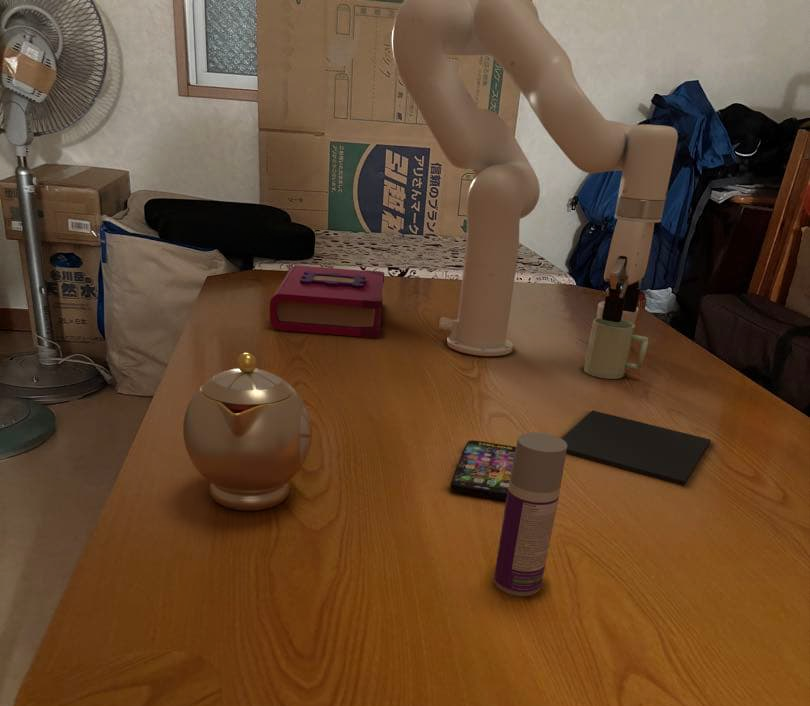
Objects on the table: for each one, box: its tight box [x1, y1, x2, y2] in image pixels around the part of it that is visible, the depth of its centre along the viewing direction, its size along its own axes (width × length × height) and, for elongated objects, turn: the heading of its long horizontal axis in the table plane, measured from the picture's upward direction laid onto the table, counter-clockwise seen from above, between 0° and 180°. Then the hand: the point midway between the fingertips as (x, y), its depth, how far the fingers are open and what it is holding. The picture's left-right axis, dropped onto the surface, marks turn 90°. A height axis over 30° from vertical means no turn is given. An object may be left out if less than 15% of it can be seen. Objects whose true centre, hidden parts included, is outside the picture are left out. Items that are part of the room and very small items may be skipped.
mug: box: [583, 317, 650, 380], centre depth 138 cm, size 10×7×9 cm
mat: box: [561, 410, 712, 486], centre depth 110 cm, size 18×18×1 cm
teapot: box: [182, 352, 313, 512], centre depth 85 cm, size 18×14×16 cm
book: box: [269, 264, 385, 339], centre depth 158 cm, size 21×28×8 cm
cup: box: [596, 300, 640, 325], centre depth 154 cm, size 11×8×8 cm
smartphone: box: [450, 439, 516, 501], centre depth 98 cm, size 8×1×15 cm
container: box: [493, 431, 567, 597], centre depth 72 cm, size 5×5×15 cm
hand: (619, 315), depth 135 cm, fingers open, 9 cm apart
